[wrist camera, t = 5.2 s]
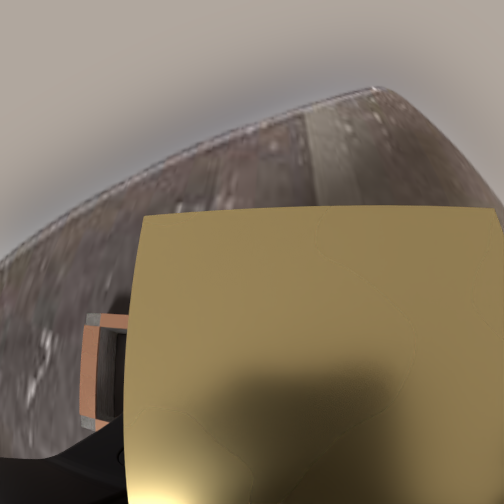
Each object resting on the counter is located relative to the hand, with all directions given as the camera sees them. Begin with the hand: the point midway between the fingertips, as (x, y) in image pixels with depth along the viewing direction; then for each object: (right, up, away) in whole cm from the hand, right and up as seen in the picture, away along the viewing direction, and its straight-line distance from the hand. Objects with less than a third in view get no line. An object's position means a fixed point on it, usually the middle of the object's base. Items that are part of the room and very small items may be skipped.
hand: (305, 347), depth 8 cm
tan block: (+1, -4, +6) cm, 7 cm away
